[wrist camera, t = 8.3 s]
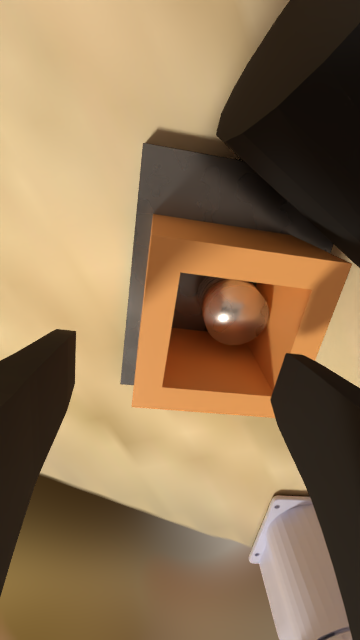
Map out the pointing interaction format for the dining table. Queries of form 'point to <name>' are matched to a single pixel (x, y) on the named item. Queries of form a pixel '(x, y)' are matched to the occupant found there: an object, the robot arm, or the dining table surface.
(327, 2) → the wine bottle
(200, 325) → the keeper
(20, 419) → the robot arm
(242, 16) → the dining table surface
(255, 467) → the dining table surface
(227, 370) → the orange hollow block
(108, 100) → the dining table surface
